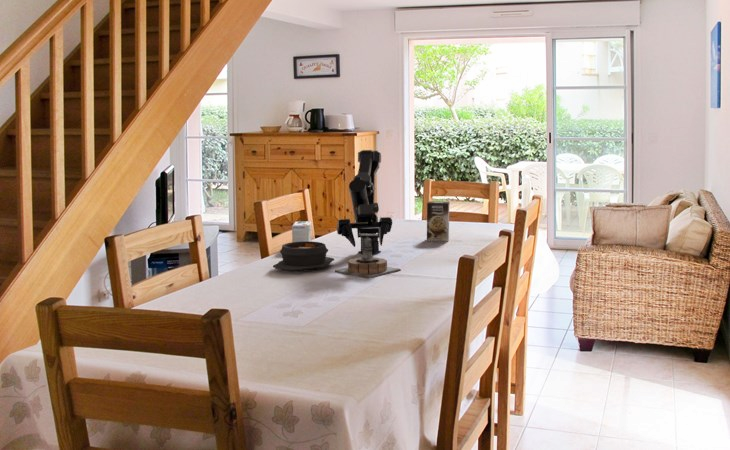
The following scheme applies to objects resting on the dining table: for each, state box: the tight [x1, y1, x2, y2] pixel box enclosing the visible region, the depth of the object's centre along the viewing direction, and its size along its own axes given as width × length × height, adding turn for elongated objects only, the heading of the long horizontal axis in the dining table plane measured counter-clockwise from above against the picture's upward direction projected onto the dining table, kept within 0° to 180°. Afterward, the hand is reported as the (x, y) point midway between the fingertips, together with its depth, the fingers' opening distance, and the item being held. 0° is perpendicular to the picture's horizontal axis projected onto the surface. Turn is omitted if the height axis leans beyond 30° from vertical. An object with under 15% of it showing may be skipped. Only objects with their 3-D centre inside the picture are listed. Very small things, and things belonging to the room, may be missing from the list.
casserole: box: [272, 241, 335, 272], centre depth 286 cm, size 25×19×8 cm
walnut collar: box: [334, 256, 402, 279], centre depth 279 cm, size 16×16×4 cm
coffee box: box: [426, 201, 451, 243], centre depth 339 cm, size 9×6×16 cm
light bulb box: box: [291, 220, 312, 243], centre depth 321 cm, size 11×7×11 cm, turn 178°
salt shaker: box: [359, 235, 377, 263], centre depth 278 cm, size 6×6×12 cm
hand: (368, 245), depth 276 cm, fingers open, 9 cm apart
